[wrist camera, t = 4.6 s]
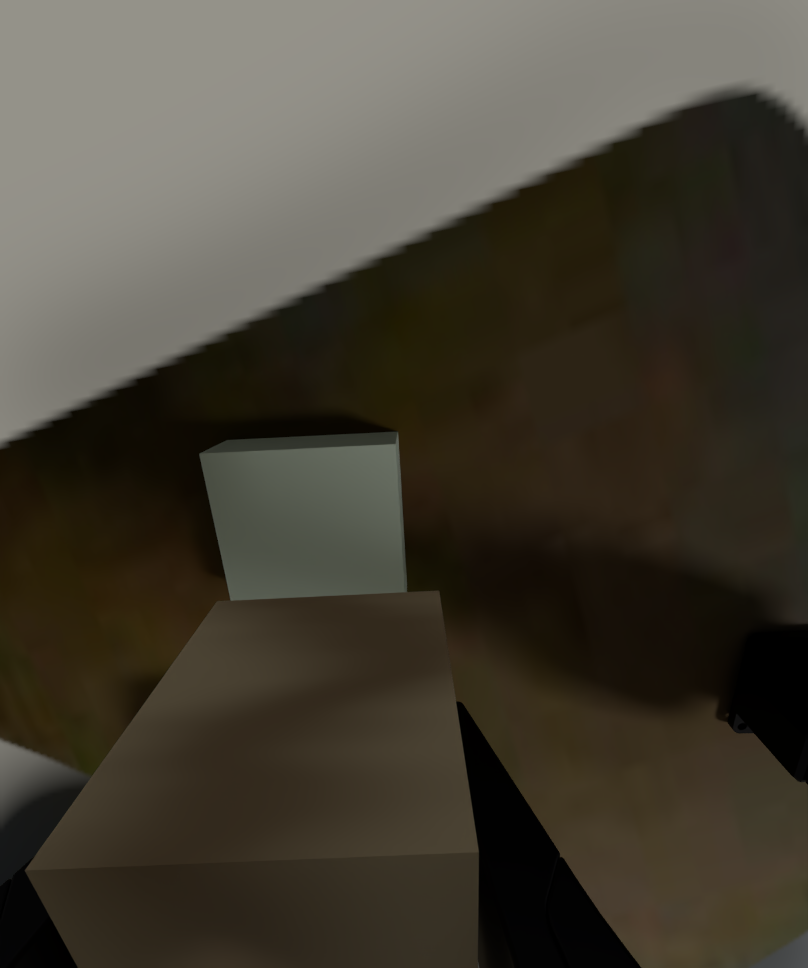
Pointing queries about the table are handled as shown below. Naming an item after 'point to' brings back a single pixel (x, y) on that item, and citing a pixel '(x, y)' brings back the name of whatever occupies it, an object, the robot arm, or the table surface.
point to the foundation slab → (308, 515)
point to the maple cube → (280, 801)
